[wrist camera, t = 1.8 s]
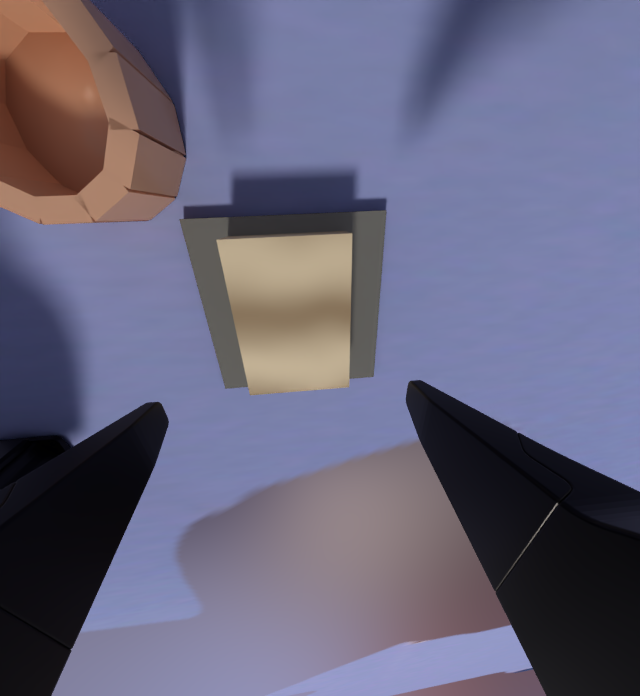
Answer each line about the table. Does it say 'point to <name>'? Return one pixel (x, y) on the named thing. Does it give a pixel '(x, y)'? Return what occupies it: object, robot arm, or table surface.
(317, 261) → the cover
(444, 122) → the table surface
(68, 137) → the bowl
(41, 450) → the robot arm
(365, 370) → the mat
